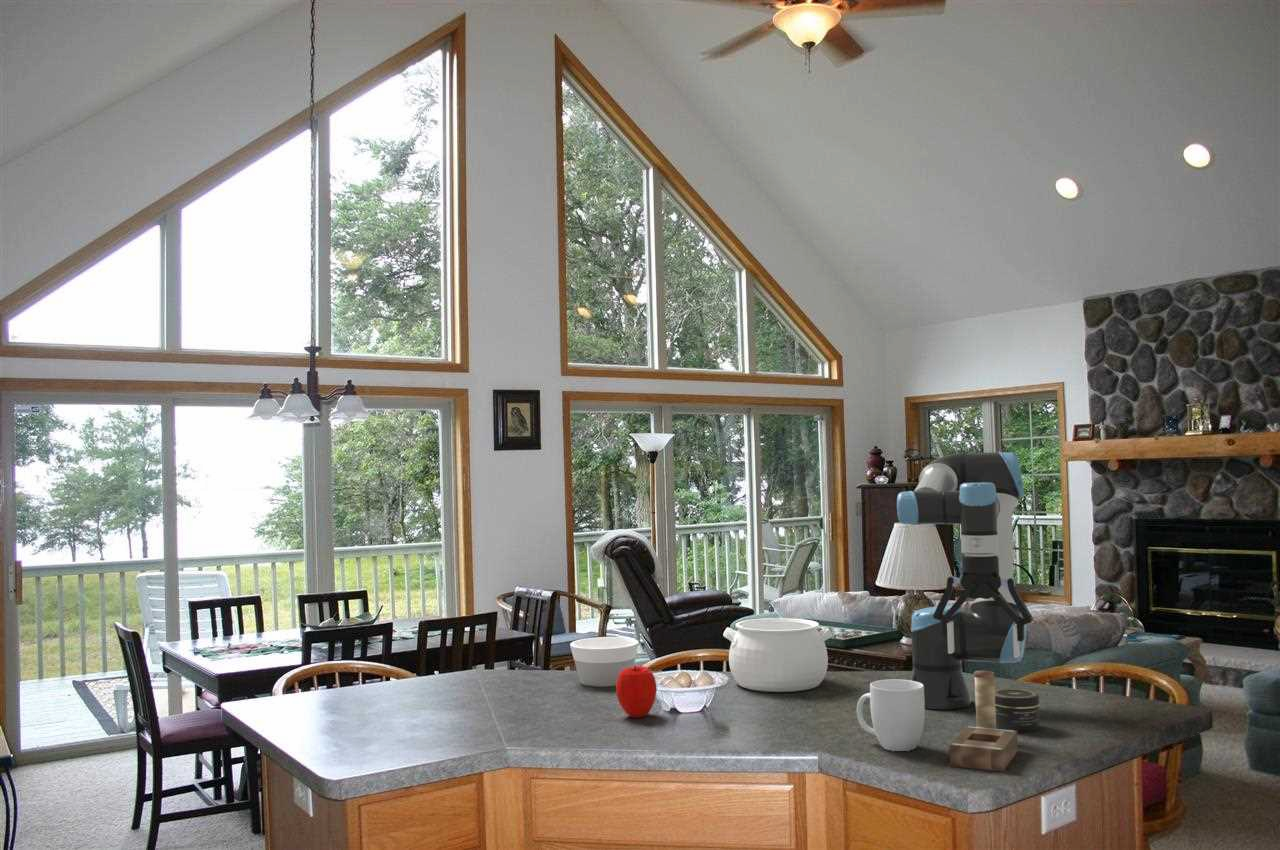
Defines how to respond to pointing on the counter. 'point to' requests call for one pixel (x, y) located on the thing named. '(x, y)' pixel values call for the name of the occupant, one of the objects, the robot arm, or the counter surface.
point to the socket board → (983, 748)
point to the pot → (778, 654)
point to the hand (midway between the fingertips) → (983, 654)
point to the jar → (1017, 710)
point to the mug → (895, 713)
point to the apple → (636, 690)
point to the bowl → (603, 659)
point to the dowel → (985, 699)
